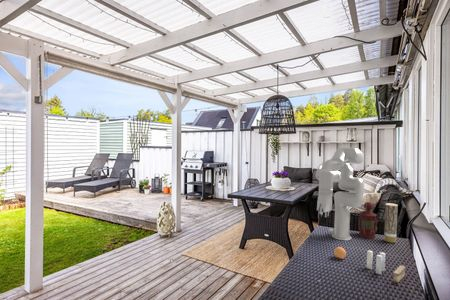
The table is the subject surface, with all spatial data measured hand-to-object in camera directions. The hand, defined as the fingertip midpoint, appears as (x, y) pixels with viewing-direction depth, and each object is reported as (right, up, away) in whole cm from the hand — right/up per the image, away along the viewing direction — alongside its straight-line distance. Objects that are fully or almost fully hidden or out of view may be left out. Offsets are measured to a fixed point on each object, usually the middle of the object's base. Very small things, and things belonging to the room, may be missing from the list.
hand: (324, 223), depth 150 cm
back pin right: (+18, -18, -23) cm, 34 cm away
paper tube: (+54, -19, +24) cm, 62 cm away
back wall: (+25, -18, -27) cm, 41 cm away
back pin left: (+21, -18, -20) cm, 34 cm away
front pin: (+16, -18, -18) cm, 30 cm away
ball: (+6, -14, -7) cm, 17 cm away
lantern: (+43, -19, +34) cm, 58 cm away
